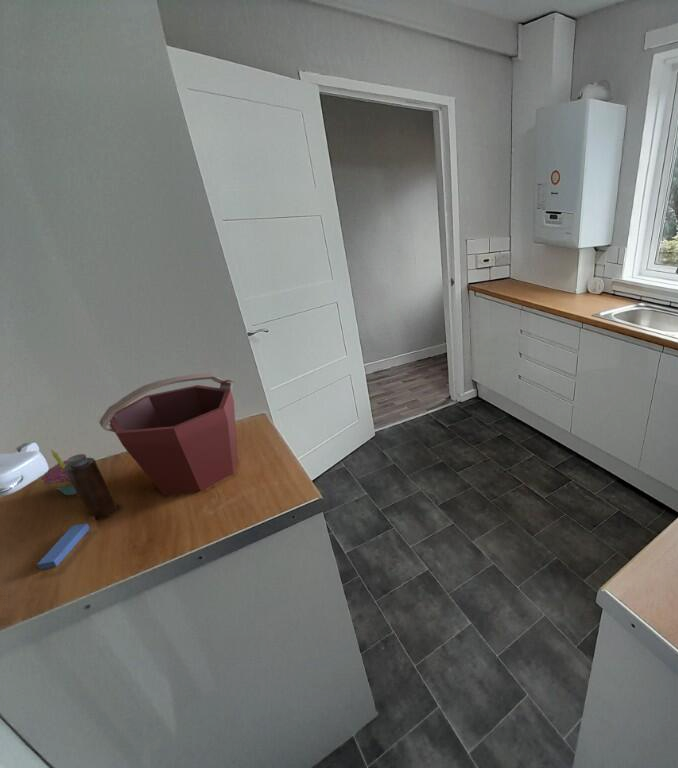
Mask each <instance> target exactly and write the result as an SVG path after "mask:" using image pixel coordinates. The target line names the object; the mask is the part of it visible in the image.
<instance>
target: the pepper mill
mask: <svg viewBox="0 0 678 768" xmlns="http://www.w3.org/2000/svg"><path fill="white" fill-rule="evenodd" d="M67 461H68V463H69V464H67V465H66V466H65V467H64V469H65V471H66V473H67V475H68V477H69V479H70V481H71V483H72V485H73V487H74V489H75V491H76V495H77V497H78V499H79V501H80V502H81V505H82V507H83V508H84V510H85V512H86V514H87V515H88V516H89V517H94V518H95V520H100V519H103V518H106V517H108V516H110V515H112V514H114V513H115V511H117V509H118V506H117V504H116V502H115V499H114V498H113V496H112V493H111V491H110V489H109V487H108V486H107V483H106V480H105V478H104V476H103V475H102V472H101V470H100V468H99V466H98V464H97V462H96V459H95V458H94V457H87V455H86V454H84V453H79V454H75V455H72V456H70V457H69V458H68V459H67Z"/></svg>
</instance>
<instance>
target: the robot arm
mask: <svg viewBox="0 0 678 768" xmlns="http://www.w3.org/2000/svg"><path fill="white" fill-rule="evenodd" d="M15 450H16V451H17V452H11V453H10V452H8V453H0V498H3V497H7V496H9V495H12V494H14V493H16V492H18V491H20V490H22V489H23V488H25V487H26V486H28V485H30V484H32V483H33V482H34V481H36V480H38V479H39V478H41V477H43V476H44V475H45V473H46V472H47V471H48V470H49V469H50V468H49V464H48V462H47V460H46V458H45V457H44V455H43V453H42V452H41V451H40V447H39V445H38V443H37V442H25V443H22V444H21V445H19V446H17V447H16V448H15Z"/></svg>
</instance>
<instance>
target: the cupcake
mask: <svg viewBox="0 0 678 768" xmlns="http://www.w3.org/2000/svg"><path fill="white" fill-rule="evenodd" d="M50 451H51V452H52V453H51V455H52V456H53V458H54V459H55V461H56V462H57V464H55V465H54V466H52V467H50V468H49V470H48V471H47V472H46V473H45V474H44V475H43V476H42V481H43V483H44V485H45V486H46V487H48V488H50V489H56V490H58V491H60V492H61V493H62V494H64V495H67V496H70V495H71V496H72V495H77V493H76V491H75V489H74V487H73V485H72V483H71V481H70V479H69V477H68V475H67V473H66V471H65V469H64V467H65V466H66V465H67V464H69V463H68V461H67V460H68V459H67V460H64V461H63V460H62V458H61V457H60V456H59V454H58V453H57V452H56V451H54V450H53V449H51V450H50Z"/></svg>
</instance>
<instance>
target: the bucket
mask: <svg viewBox="0 0 678 768" xmlns="http://www.w3.org/2000/svg"><path fill="white" fill-rule="evenodd" d="M202 380H205V381H206V380H211V381H213V382H215V383H216V384H217V383H218V384H220V385H219V387H214V386H206V385H199V384H195V385H192V386H191V385H190V386H186V387H180V388H177V389H172V390H166V391H162V392H157V393H152V394H148V395H145V394H147V393H149V392H151V391H154V390H157V389H160V388H162V387H166V386H170V385H174V384H178V383H185V382H194V381H202ZM234 383H235V382H234V381H233V380H231V379H229V378H224V377H218V376H216V375H214V374H212V373H211V372H206V373H196V374H195V373H194V374H186V375H180V376H175V377H174V376H173V377H169V378H165V379H161V380H156V381H154V382H153V381H152V382H151V383H147V384H144V385H142V386H140V387H138V388H137V389H135V390H133V391H131V392H130V393H129V394H126V395H125V396H123V397H121V399H119V400H117V402H115V403H114V404H112V405H111V406H109V407H108V408H107V409H106V411H104V413H103V415H102V416H101V418H100V420H99V422H98V423H99V424H100V427H101V428H102V429H103V430H104V431H108V432H113V433H115V435H116V437H117V438H118V440H119V442H120V443H121V445H122V446H123V448H124V449H125V451H126V452H127V453H128V454H129V455H130V456H131V458H132V459H133V460H134V461H135V462H136V464H137V465H138V466H139V467H140V468H141V470H142V471H143V472H144V473H145V474H146V476H147V477H148V478H149V479H150V481H151V482H152V483H153V484H154V485H155V486H156V488H157V489H158V490H159V491H160V492H161V494H162V495H163V496H164V497H165V496H173V495H183V494H189V493H190V494H192V493H199V492H203V491H204V490H206V489H209V488H210V487H212V486H214V485H215V484H217V483H219V482H221V481H223V480H224V479H226V478H228V477H230V476H232V475H233V474H234V472H235V469H236V464H237V461H238V444H237V429H236V427H237V426H236V414H235V413H236V412H235V399H234V396H233V394H232V392H233V388H234ZM142 396H143V397H142ZM140 397H141V398H140Z"/></svg>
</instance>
